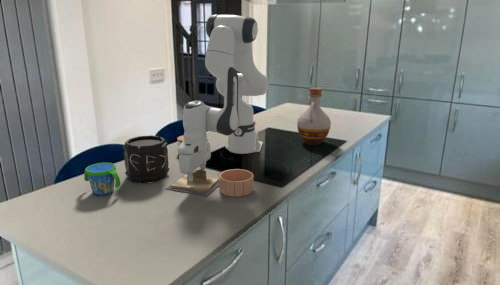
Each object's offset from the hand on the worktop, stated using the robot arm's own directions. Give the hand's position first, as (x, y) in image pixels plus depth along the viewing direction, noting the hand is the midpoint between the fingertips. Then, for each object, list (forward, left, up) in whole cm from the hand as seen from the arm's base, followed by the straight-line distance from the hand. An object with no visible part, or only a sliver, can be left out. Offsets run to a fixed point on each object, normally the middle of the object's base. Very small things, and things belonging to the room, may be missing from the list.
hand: (196, 176), depth 149 cm
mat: (0, 0, -3) cm, 3 cm away
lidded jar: (-34, -22, -4) cm, 41 cm away
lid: (0, 0, -3) cm, 3 cm away
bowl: (0, +17, -3) cm, 17 cm away
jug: (-70, +34, -4) cm, 78 cm away
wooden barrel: (0, -23, -4) cm, 23 cm away
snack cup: (+19, -30, -4) cm, 36 cm away
